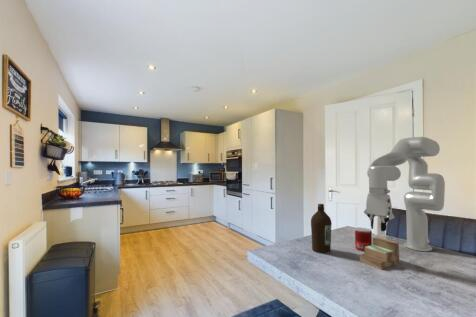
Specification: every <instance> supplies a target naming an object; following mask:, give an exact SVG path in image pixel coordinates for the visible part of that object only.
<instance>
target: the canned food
mask: <svg viewBox="0 0 476 317" xmlns="http://www.w3.org/2000/svg"><path fill="white" fill-rule="evenodd" d="M372 231H373V230H372V229H370V228H366V227H356V228H354V241H355V242H354V244H355V249H356V250H358V251H360V252H364V253H365V247H367V246H371V245H373V237H372V235H373V233H372Z"/></svg>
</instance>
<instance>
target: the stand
mask: <svg viewBox="0 0 476 317" xmlns="http://www.w3.org/2000/svg"><path fill="white" fill-rule="evenodd" d="M399 246H400V243H399V242H397V241H394V240H389V239H387V238H382V237H379V236H376V237H372V245H371V246H367V247H365V252H364V253H363V254H359V262H360V263H363V264H366V265H368V266H370V267H374V268H376V269H378V270H381V271H382V270H385V269H387V268H389V267H392V266H395V265H397V264H399V263H400V247H399Z"/></svg>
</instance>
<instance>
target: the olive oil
mask: <svg viewBox="0 0 476 317" xmlns="http://www.w3.org/2000/svg"><path fill="white" fill-rule="evenodd" d="M332 224H333V223H332V219H331V217H330V216H329V215H328V213H326V211H325V204H323V203H318V204H317V211H316V212H315V213H314V214H313V215H312V216H311V220H310V228H311V231H310V232H311V249H312V251H313V252H314V253H319V254H329V253H331V252H332V250H331V248H332V246H331V245H332Z"/></svg>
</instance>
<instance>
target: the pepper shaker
mask: <svg viewBox="0 0 476 317" xmlns="http://www.w3.org/2000/svg"><path fill="white" fill-rule="evenodd" d="M381 223H382V219H381V216H379V215H375V216H374V222H373V229H372V230H371V231H372V235H375V236H378V237H379V236H380V237H383V236H386V231H381Z"/></svg>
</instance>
